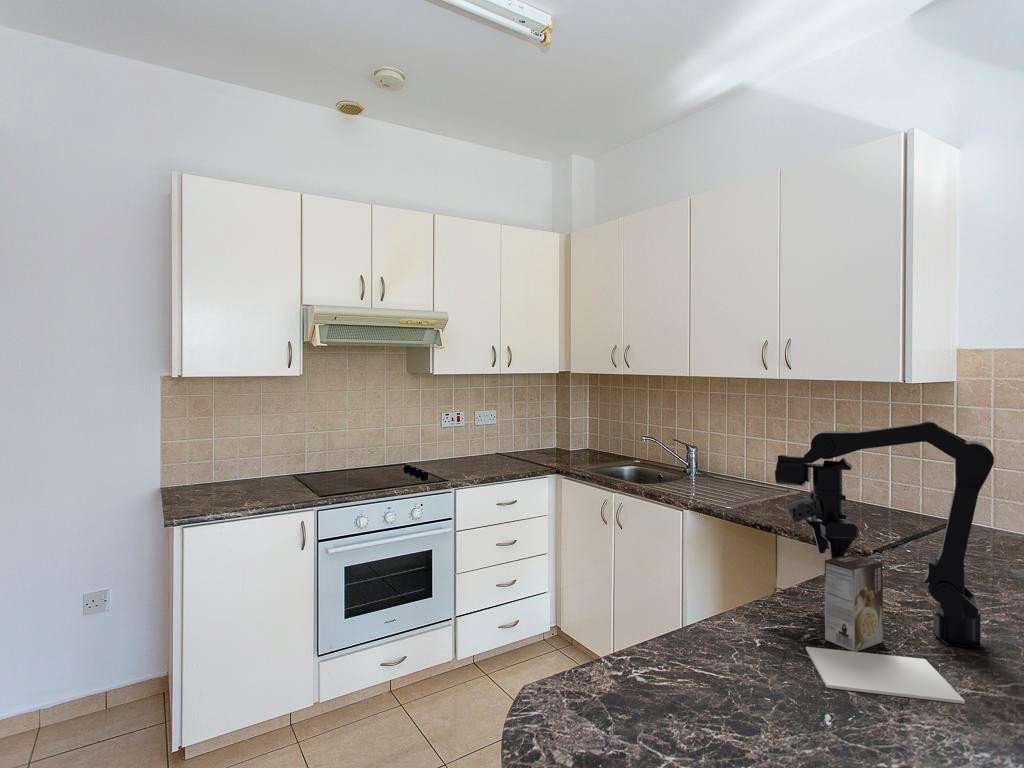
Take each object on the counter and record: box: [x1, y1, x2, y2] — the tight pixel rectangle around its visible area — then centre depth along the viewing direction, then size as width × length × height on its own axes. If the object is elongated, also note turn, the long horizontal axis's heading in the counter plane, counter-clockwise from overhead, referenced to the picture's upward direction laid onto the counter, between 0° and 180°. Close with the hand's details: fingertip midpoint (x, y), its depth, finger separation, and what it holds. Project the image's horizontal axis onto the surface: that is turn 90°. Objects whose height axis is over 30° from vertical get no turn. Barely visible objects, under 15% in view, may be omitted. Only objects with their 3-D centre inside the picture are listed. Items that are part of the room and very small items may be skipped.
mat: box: [805, 646, 966, 705], centre depth 101 cm, size 20×14×1 cm
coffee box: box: [824, 553, 884, 652], centre depth 114 cm, size 9×6×16 cm
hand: (828, 559), depth 127 cm, fingers open, 9 cm apart
